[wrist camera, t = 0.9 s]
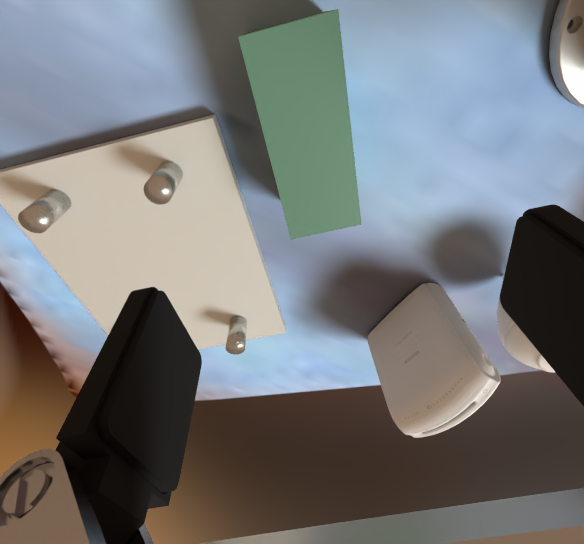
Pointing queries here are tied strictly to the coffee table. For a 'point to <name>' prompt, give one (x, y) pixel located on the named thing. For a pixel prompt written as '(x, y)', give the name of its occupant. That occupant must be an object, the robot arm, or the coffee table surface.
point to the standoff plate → (151, 230)
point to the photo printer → (430, 363)
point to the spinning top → (518, 342)
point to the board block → (305, 120)
